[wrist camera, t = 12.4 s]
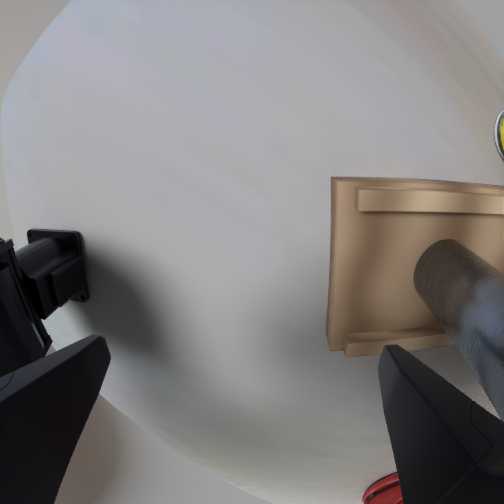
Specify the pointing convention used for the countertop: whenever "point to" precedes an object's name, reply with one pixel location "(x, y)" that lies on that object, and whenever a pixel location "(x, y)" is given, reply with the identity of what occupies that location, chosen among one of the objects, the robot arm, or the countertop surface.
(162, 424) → the countertop surface
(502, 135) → the supplement bottle
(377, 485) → the plant pot
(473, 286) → the slim bottle
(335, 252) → the stand
